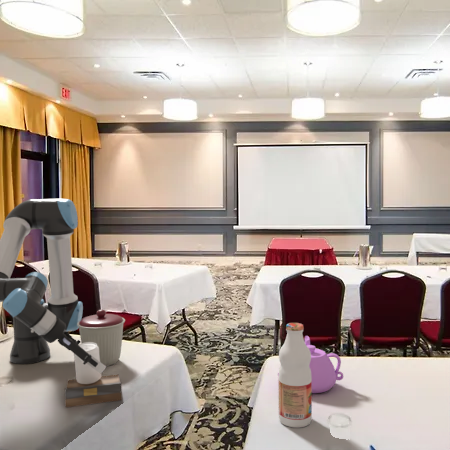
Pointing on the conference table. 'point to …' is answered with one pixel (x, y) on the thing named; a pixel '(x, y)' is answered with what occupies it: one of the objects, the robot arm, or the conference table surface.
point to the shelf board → (93, 391)
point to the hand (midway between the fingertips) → (97, 363)
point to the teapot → (322, 369)
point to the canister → (103, 334)
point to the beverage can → (86, 372)
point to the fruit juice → (295, 379)
